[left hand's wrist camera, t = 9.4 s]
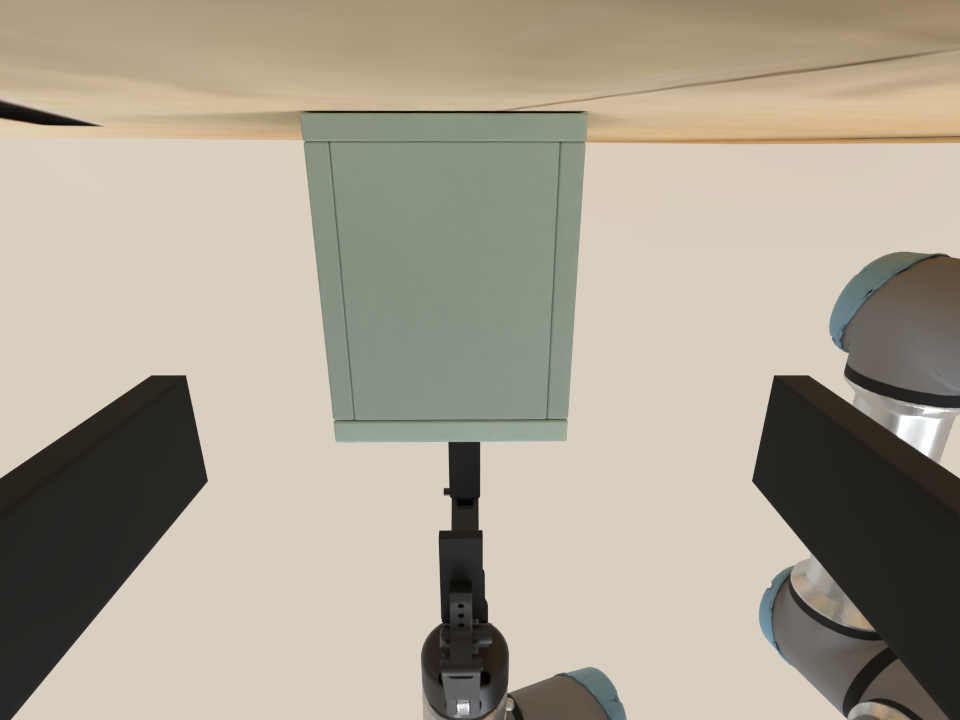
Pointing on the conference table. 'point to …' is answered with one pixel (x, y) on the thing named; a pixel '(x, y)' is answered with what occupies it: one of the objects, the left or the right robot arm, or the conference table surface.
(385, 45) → the conference table surface
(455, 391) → the chest
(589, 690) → the right robot arm
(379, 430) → the lid
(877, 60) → the conference table surface
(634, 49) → the conference table surface
